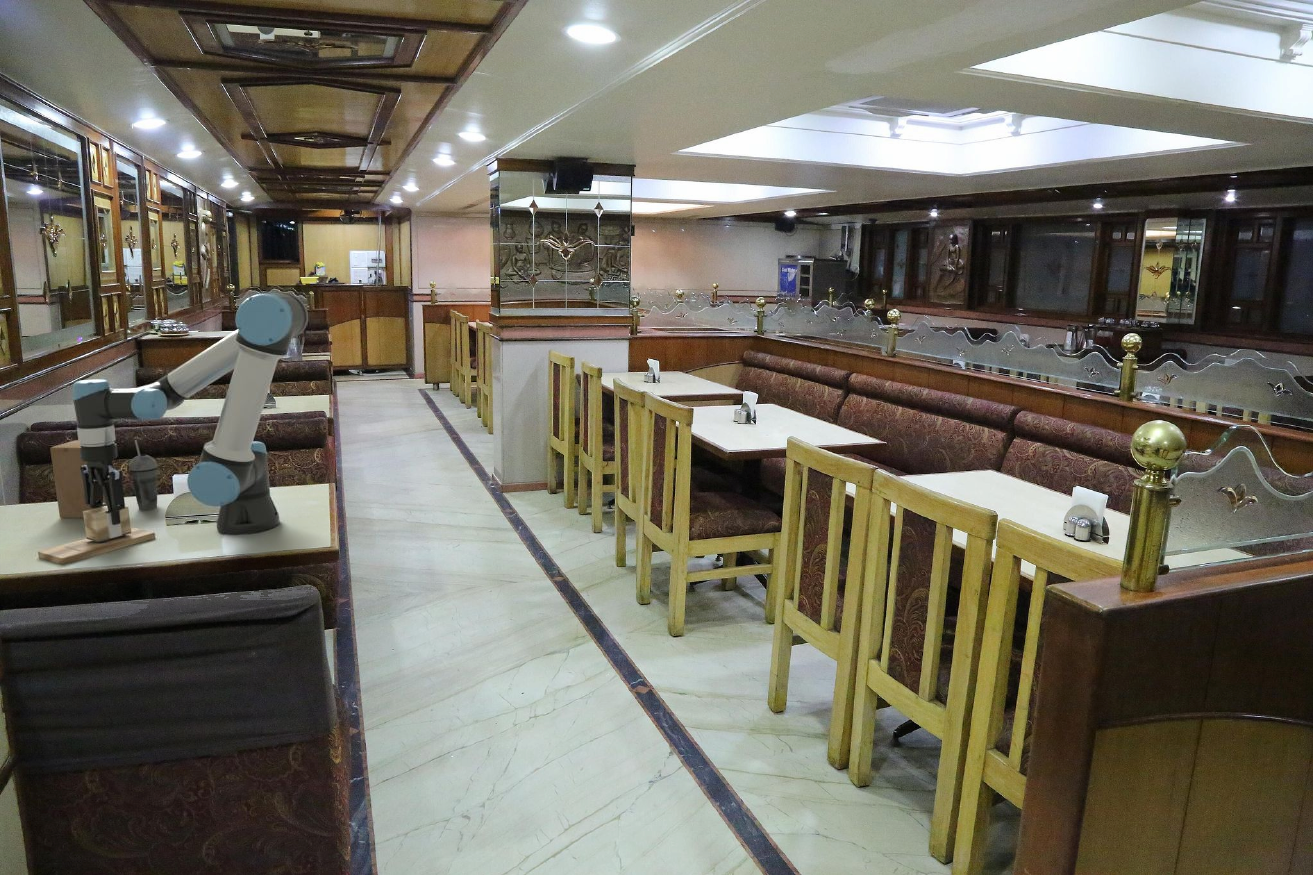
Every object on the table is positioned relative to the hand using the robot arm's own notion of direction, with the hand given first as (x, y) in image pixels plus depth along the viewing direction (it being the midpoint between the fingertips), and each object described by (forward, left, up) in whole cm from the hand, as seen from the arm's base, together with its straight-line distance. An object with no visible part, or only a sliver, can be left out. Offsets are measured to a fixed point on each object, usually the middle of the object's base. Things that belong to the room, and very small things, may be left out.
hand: (108, 534), depth 208 cm
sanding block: (0, 0, 0) cm, 0 cm away
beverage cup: (+23, -24, -3) cm, 33 cm away
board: (0, +3, -3) cm, 4 cm away
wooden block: (+32, -13, -3) cm, 35 cm away
